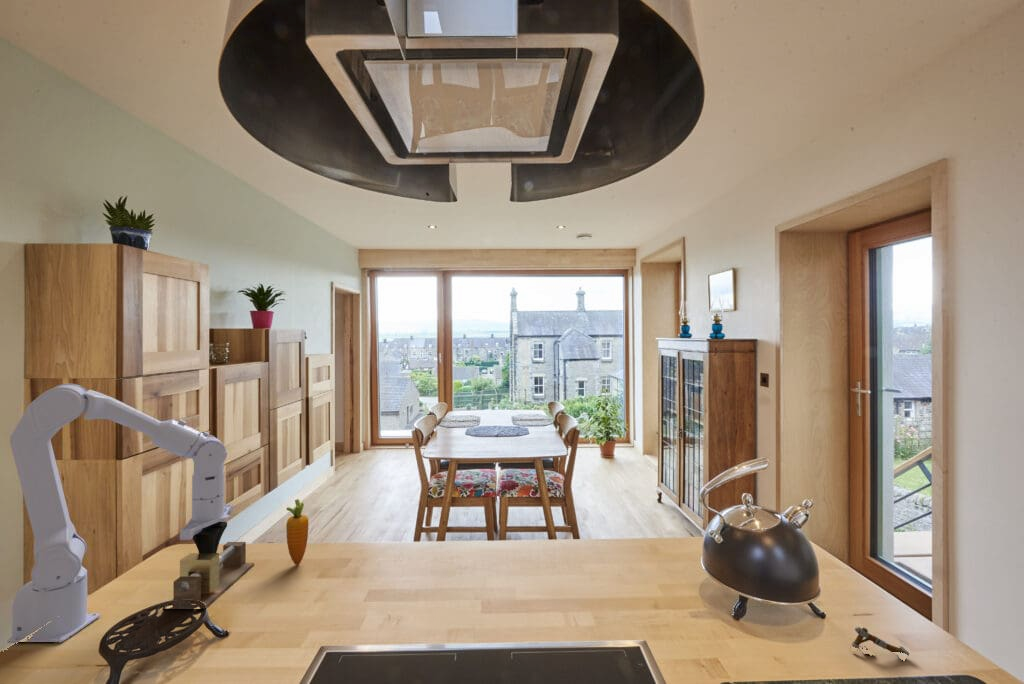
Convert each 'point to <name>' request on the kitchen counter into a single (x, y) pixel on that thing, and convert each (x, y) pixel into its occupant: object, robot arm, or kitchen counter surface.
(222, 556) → the pipe
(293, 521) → the carrot
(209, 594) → the slider rail
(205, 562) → the brushed brass square block
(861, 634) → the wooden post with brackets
